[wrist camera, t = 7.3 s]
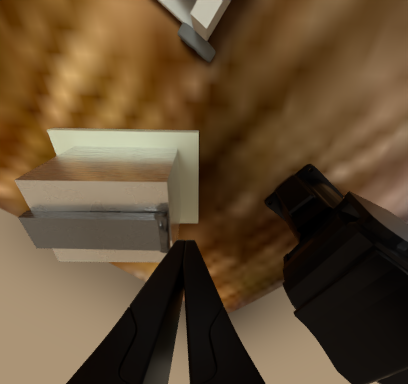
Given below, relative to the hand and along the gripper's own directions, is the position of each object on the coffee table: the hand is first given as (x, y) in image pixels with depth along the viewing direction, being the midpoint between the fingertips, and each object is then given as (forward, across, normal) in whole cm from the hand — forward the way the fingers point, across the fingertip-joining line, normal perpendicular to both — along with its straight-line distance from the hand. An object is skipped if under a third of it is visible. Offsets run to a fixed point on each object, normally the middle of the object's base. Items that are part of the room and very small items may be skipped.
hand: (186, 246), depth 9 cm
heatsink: (+13, +7, +4) cm, 15 cm away
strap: (+5, +7, +3) cm, 9 cm away
